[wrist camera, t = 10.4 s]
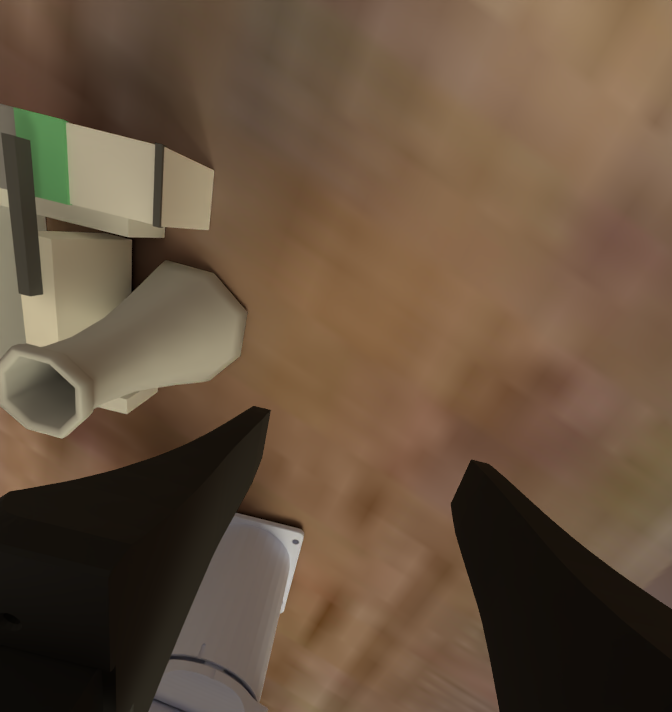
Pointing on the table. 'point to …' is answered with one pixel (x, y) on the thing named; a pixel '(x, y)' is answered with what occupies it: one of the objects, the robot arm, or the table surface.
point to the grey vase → (127, 351)
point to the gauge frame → (96, 199)
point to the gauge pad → (59, 262)
